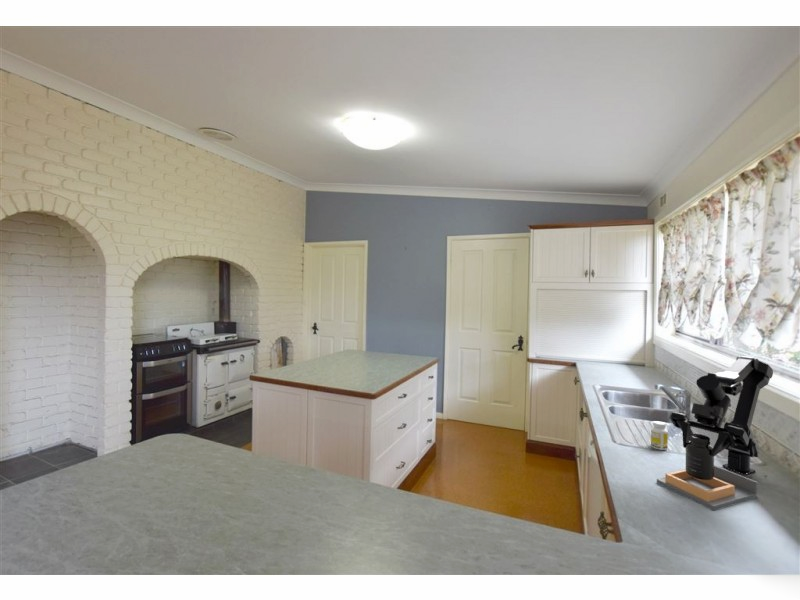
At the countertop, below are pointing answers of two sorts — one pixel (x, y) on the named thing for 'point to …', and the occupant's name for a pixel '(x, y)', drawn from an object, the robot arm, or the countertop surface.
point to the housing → (712, 487)
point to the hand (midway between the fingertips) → (697, 451)
